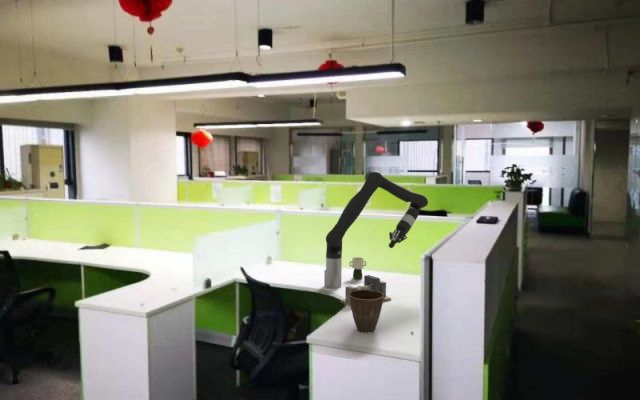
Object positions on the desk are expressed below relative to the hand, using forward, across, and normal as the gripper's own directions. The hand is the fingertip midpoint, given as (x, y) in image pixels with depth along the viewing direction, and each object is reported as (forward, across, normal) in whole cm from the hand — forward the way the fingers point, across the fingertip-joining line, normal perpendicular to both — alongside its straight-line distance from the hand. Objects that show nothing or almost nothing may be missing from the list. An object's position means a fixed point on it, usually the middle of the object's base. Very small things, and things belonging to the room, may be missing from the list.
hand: (390, 247), depth 268 cm
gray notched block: (+29, +5, +3) cm, 29 cm away
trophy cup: (+14, -36, +23) cm, 45 cm away
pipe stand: (+34, +5, +2) cm, 35 cm away
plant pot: (+56, +38, -19) cm, 70 cm away
